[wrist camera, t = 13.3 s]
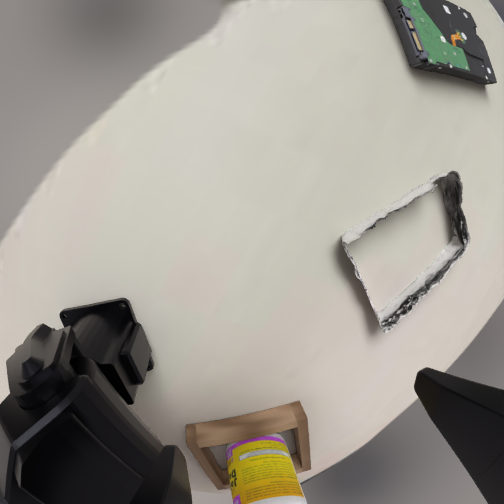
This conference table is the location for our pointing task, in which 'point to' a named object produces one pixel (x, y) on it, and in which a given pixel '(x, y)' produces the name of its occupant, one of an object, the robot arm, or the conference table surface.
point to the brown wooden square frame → (248, 437)
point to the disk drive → (441, 39)
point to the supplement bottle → (263, 472)
